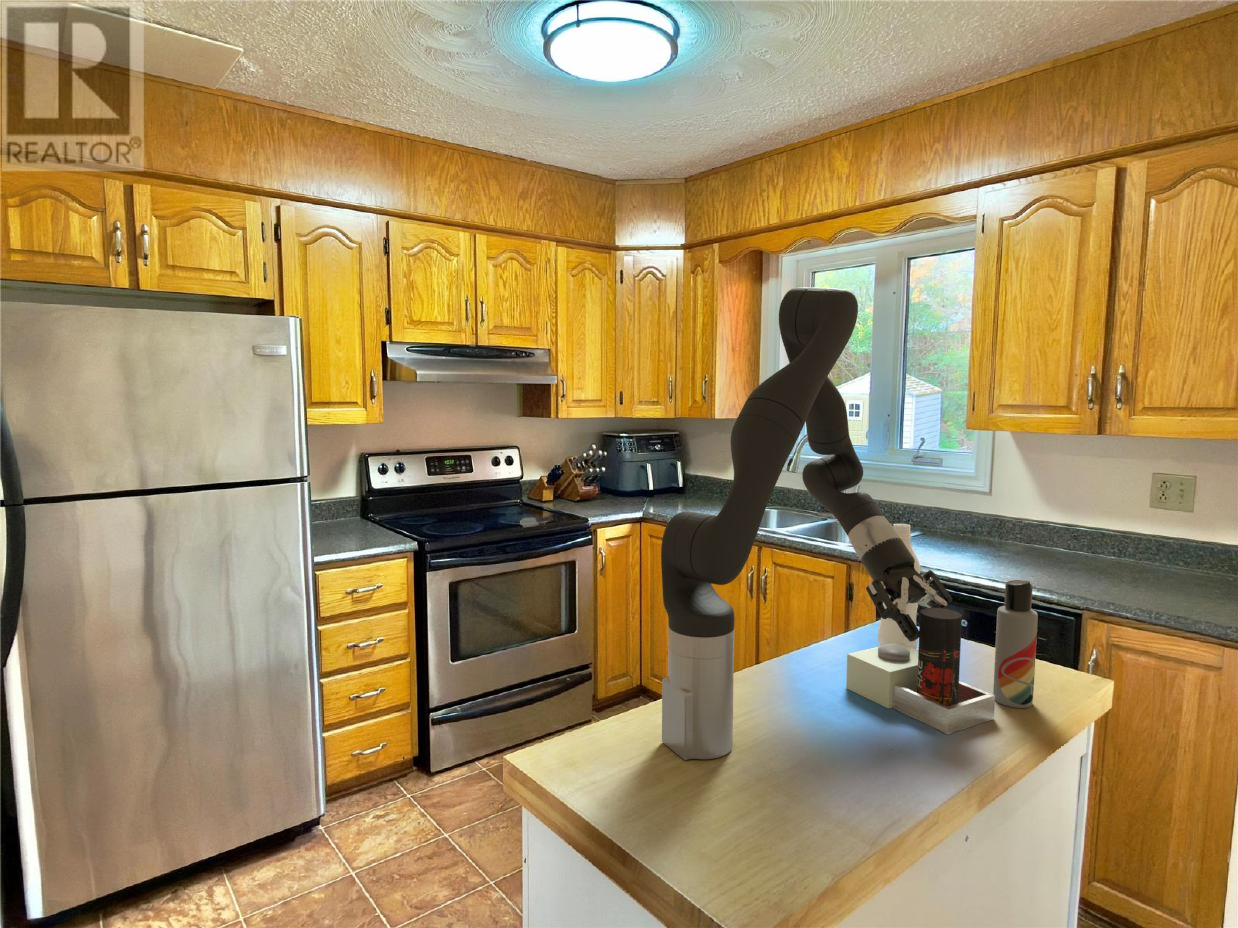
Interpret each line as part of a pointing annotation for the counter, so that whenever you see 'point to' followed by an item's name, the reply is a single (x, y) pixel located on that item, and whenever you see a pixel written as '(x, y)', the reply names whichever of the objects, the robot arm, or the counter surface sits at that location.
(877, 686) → the cream rectangular block
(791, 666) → the counter surface
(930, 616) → the deodorant
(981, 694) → the white open box
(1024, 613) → the lotion bottle
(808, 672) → the counter surface
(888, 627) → the water bottle
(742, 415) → the robot arm
